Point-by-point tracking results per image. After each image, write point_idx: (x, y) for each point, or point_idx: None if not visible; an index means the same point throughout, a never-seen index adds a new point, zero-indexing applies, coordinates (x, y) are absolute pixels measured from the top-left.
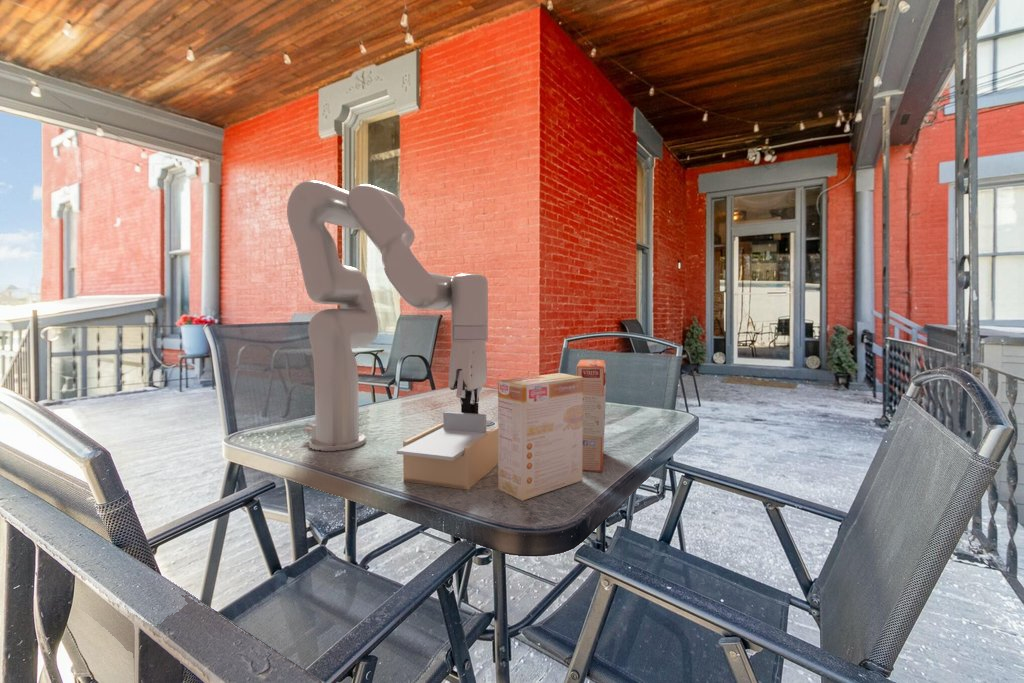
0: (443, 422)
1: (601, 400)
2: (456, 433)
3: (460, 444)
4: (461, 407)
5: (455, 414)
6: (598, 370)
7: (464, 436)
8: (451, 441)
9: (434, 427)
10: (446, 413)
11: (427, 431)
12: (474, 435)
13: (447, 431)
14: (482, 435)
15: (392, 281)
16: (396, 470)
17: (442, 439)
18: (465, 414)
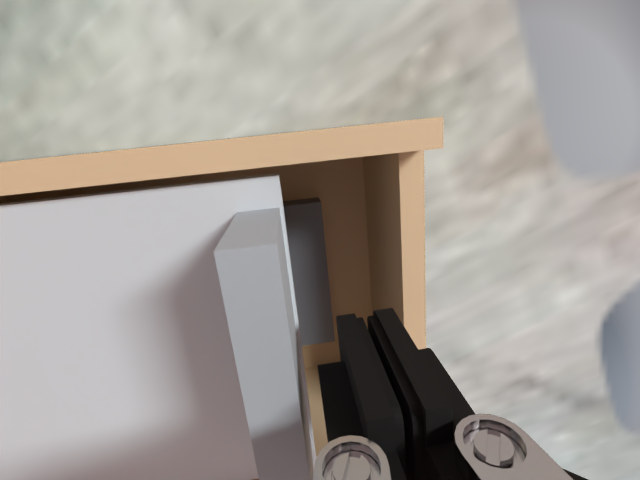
0: (356, 134)
1: None
2: (189, 342)
3: (9, 474)
4: (358, 388)
5: (238, 366)
6: None
7: (158, 412)
8: (21, 411)
9: (182, 164)
10: (223, 280)
11: (50, 186)
12: (206, 443)
13: (199, 269)
14: (230, 471)
15: None
16: (45, 40)
17: (21, 347)
18: (254, 450)
